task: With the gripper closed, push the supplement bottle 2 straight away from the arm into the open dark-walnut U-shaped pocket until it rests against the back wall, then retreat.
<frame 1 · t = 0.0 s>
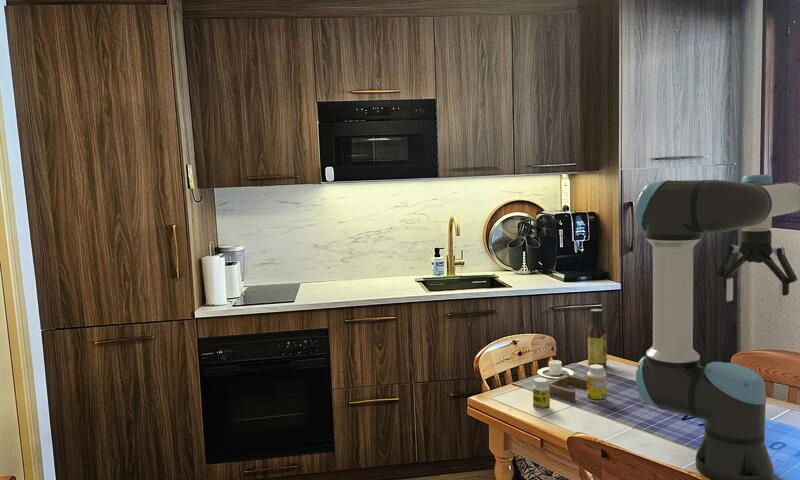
hand: (754, 303, 174), 28 cm above the table, fingers open, 13 cm apart
candle holder: (555, 375, 206), on the table
supplement bottle 2: (596, 400, 181), on the table
sauce bottle: (597, 366, 212), on the table
apple: (696, 407, 173), on the table
supplement bottle: (541, 408, 177), on the table
pocket: (572, 392, 188), on the table
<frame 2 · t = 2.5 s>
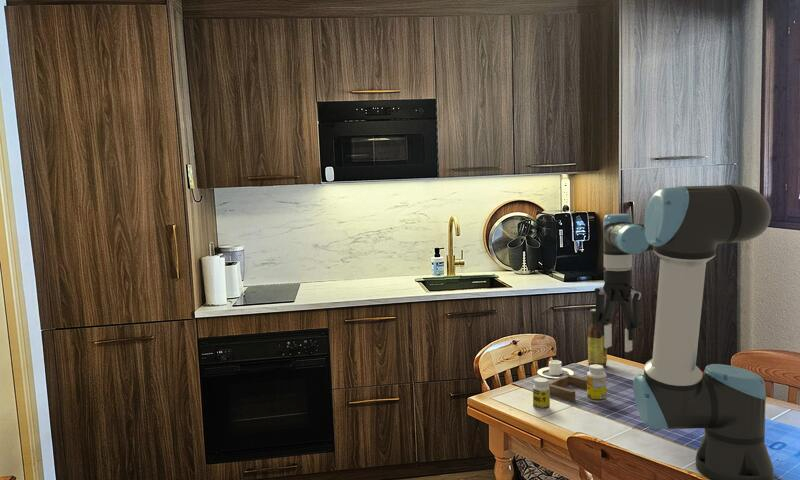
hand: (618, 348, 174), 17 cm above the table, fingers open, 6 cm apart
nothing on the table moved.
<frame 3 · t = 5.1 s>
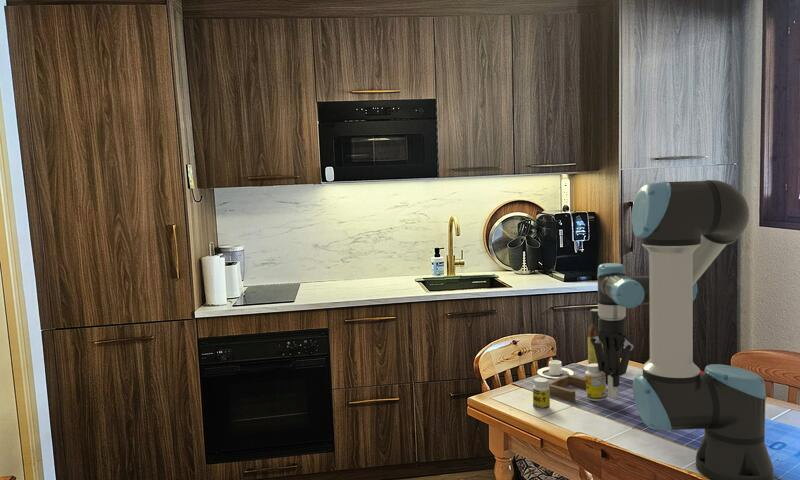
hand: (612, 396, 177), 2 cm above the table, fingers closed
supplement bottle 2: (596, 399, 181), on the table, touching gripper
everything else where it was.
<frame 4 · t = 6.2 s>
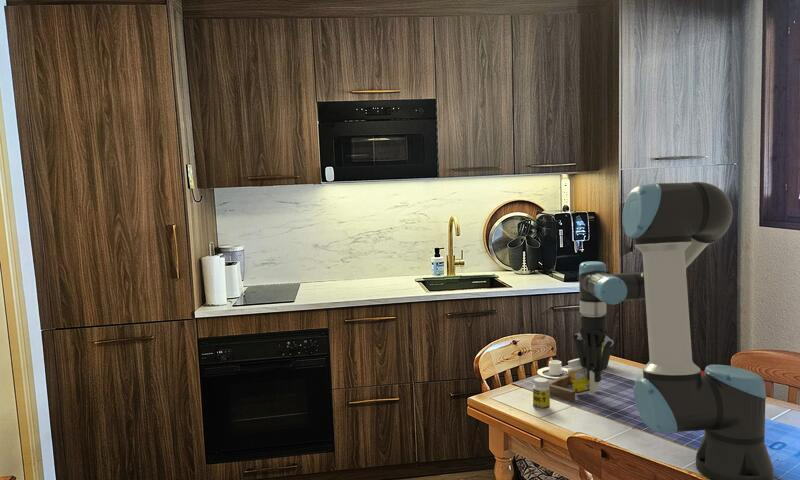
hand: (594, 391, 182), 2 cm above the table, fingers closed
supplement bottle 2: (584, 393, 184), point 1 cm above the table, touching gripper, hand
everything else where it was.
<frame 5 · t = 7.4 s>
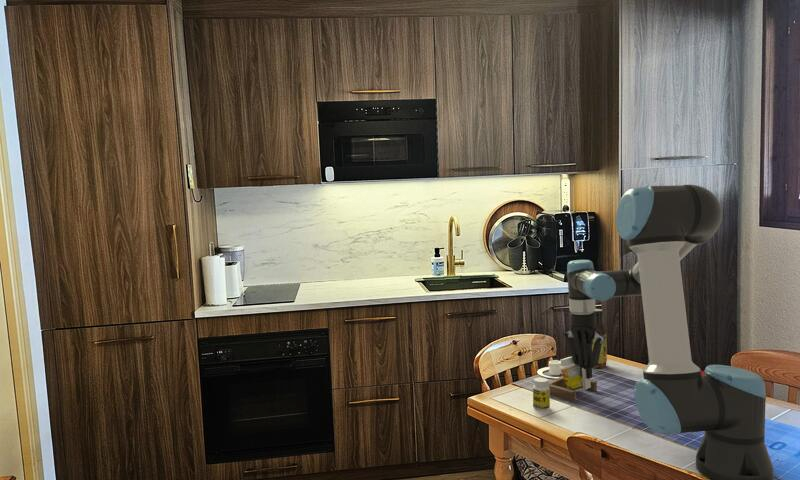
hand: (586, 388, 184), 2 cm above the table, fingers closed
supplement bottle 2: (578, 391, 186), point 1 cm above the table, touching gripper, hand
everything else where it was.
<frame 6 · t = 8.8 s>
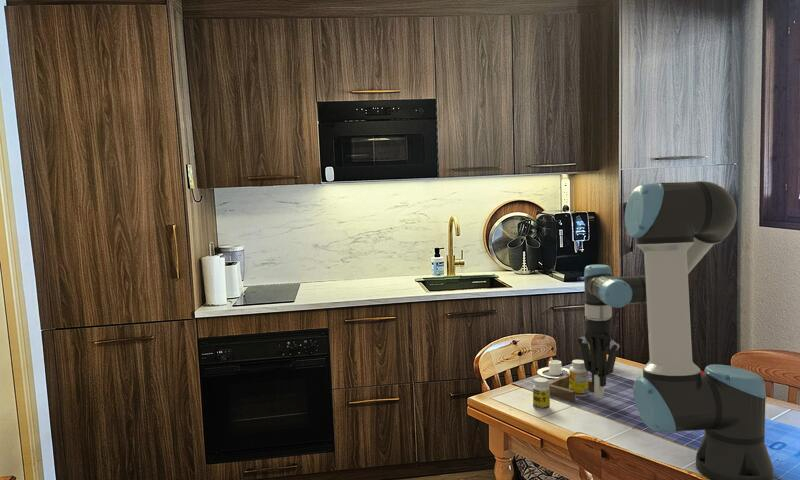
hand: (599, 395, 180), 1 cm above the table, fingers closed
supplement bottle 2: (578, 394, 186), on the table
everything else where it was.
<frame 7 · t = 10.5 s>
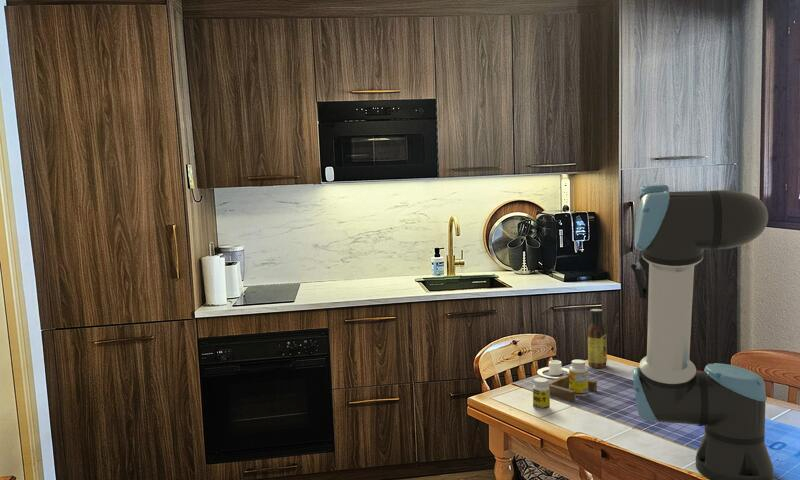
hand: (654, 323, 172), 24 cm above the table, fingers closed
nothing on the table moved.
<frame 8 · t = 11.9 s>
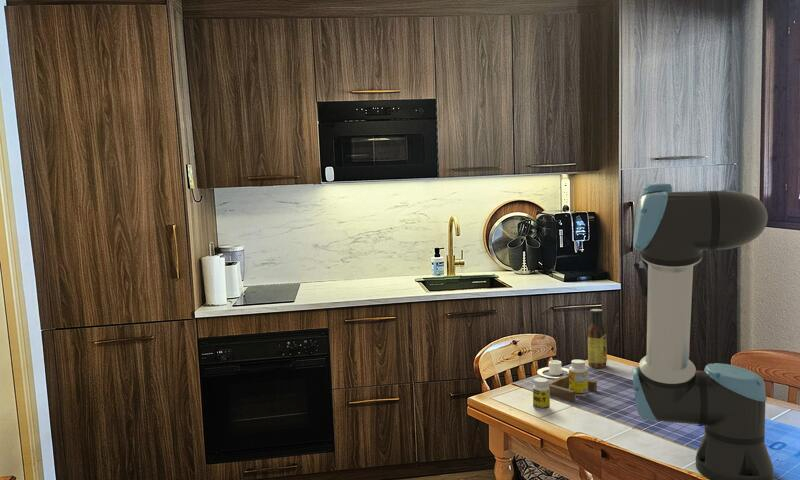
hand: (657, 322, 172), 24 cm above the table, fingers closed
nothing on the table moved.
at the end: supplement bottle 2 inside the target area (2.5 cm from its centre), on the table; supplement bottle 2 tilted 1° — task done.
